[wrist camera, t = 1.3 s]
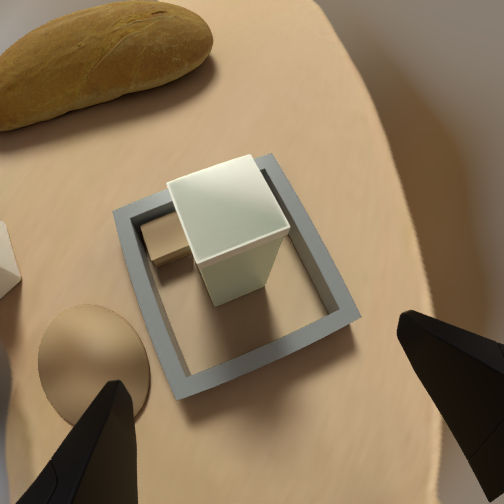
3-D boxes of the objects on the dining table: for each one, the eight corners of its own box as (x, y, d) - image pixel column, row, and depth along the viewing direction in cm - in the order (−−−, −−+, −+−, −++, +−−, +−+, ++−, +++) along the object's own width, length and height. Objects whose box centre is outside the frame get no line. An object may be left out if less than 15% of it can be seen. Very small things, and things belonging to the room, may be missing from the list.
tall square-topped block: (266, 286, 23) (290, 227, 13) (214, 309, 22) (196, 264, 12) (243, 238, 24) (250, 153, 14) (193, 258, 23) (166, 182, 13)
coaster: (171, 412, 19) (170, 413, 19) (65, 440, 17) (63, 441, 17) (124, 287, 22) (122, 286, 22) (29, 327, 20) (26, 326, 20)
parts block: (193, 254, 24) (189, 244, 22) (157, 268, 23) (151, 260, 21) (180, 222, 25) (176, 210, 23) (146, 236, 24) (140, 225, 22)
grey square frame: (348, 322, 22) (361, 317, 20) (183, 396, 20) (176, 400, 17) (268, 170, 26) (271, 153, 24) (122, 225, 24) (112, 211, 22)
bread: (217, 95, 30) (215, 17, 21) (-27, 156, 27) (-63, 114, 17) (210, 24, 36) (209, -30, 27) (13, 75, 33) (-8, 35, 23)
